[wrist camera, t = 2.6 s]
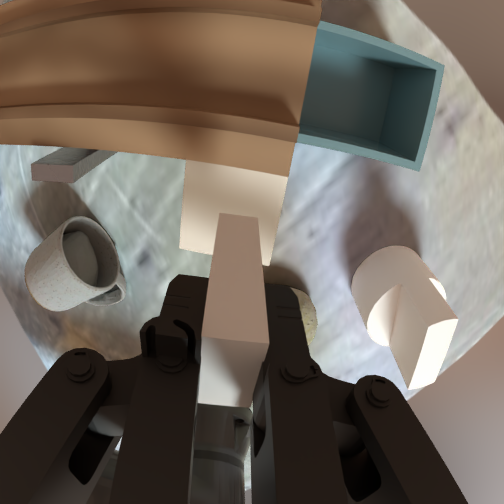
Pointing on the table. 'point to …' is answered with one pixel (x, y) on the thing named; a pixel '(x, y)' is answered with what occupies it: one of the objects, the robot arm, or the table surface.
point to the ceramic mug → (75, 267)
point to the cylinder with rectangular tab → (405, 311)
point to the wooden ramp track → (167, 93)
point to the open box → (369, 97)
